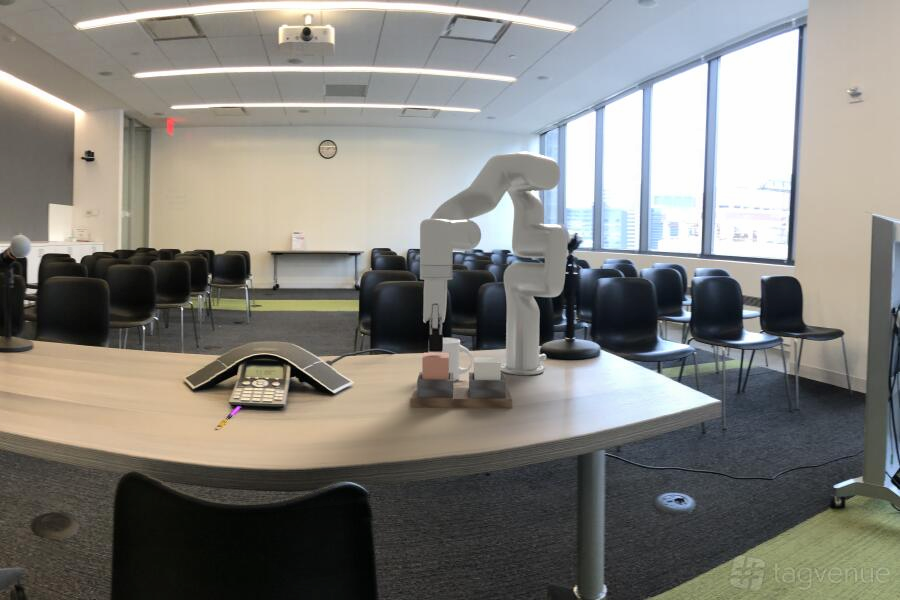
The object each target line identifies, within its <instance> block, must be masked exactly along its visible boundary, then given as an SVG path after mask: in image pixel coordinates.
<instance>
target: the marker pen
mask: <svg viewBox="0 0 900 600" xmlns="http://www.w3.org/2000/svg"><path fill="white" fill-rule="evenodd" d="M236 406H237V405H236ZM240 408H242V407H241V406H237V407H235V408H234V409H232V411H231V412H230V413H229V414H228V415H227V416H226V418H223V419H222V420H221V421H220V422H219V424H217V426H216V428H217V427H222V426H223V425H224V424H225V423H227V421H228V420H229V419H228V418H231V417H232V416H233V415H234V414H235V415H237V413H239V411H241V410H240ZM235 415H234V416H235ZM234 416H233V417H234ZM233 417H232V418H233ZM232 418H231V419H232ZM227 419H228V420H227ZM227 424H228V423H227ZM225 425H226V424H225ZM225 425H224V426H225ZM224 426H223V427H224ZM223 427H222V428H223Z"/></svg>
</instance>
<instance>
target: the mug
mask: <svg viewBox="0 0 900 600" xmlns="http://www.w3.org/2000/svg"><path fill="white" fill-rule="evenodd" d="M428 353H449V372H454V374H453V382H455V381H457V380H459V379H460V376H461V375H464V374H467V373H469V371H470V370H471V368H472V367H473V366H472V365H473V355H472V354H471V351H470V350H469V349H468V348H467V347H465V346H463V345H461V340H460V339H459V338H454V337H443V351H442V352H430V351H429V350H428ZM461 353H465V354H467V356H469V359H470V364H469V365H468V367H466V368H464V367H461Z"/></svg>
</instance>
